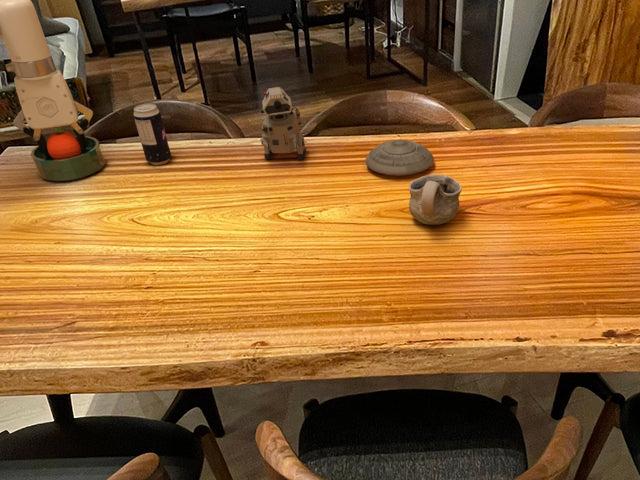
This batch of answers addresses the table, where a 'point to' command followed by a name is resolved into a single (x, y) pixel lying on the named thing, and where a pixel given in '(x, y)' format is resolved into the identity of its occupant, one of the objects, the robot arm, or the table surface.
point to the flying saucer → (399, 158)
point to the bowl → (70, 163)
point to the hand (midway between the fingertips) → (66, 152)
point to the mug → (434, 199)
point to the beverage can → (152, 134)
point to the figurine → (281, 125)
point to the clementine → (63, 145)
